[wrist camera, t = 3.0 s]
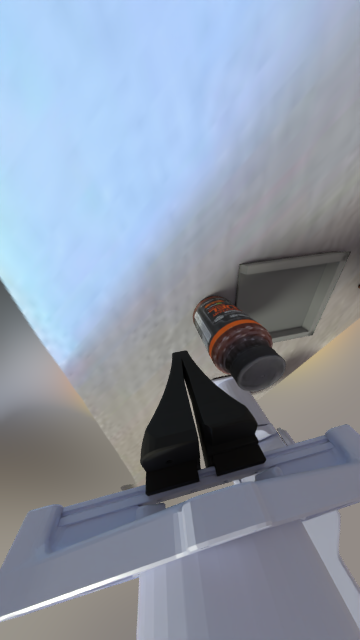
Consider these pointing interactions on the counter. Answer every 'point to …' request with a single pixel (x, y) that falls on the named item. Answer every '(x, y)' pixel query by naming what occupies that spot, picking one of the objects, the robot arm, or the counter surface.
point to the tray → (289, 292)
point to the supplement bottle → (238, 344)
